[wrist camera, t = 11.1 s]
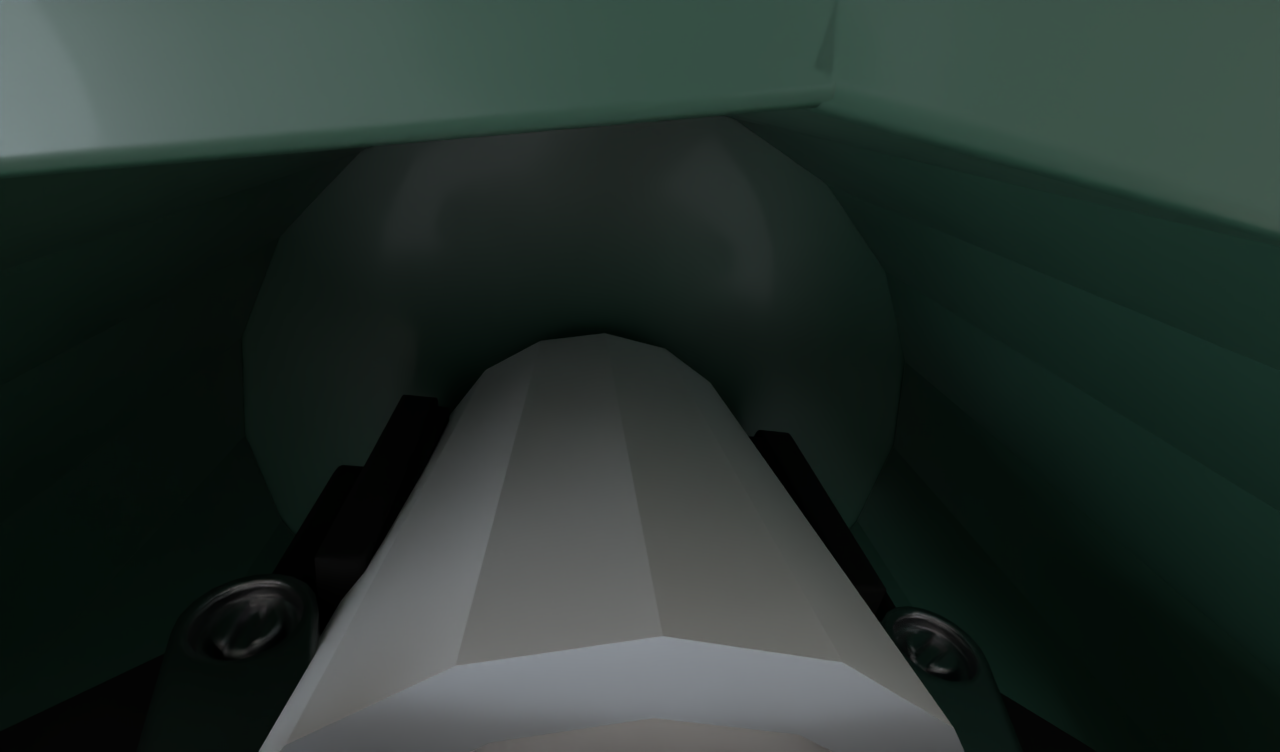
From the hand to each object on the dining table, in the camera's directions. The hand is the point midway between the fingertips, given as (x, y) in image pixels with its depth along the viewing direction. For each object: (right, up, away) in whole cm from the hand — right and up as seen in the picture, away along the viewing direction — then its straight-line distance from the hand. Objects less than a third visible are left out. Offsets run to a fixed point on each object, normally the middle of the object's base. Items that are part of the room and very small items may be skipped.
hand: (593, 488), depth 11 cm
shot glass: (0, 0, +1) cm, 1 cm away
